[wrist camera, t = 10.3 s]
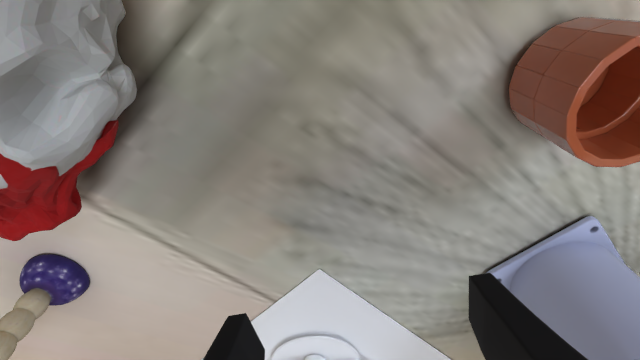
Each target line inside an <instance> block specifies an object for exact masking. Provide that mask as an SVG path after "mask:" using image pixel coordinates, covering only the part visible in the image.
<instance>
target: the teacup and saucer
mask: <svg viewBox="0 0 640 360" xmlns="http://www.w3.org/2000/svg"><path fill="white" fill-rule="evenodd" d="M270 360H361V358H360V355H359V353H358V351H357V350H356V349H355V348H354V347H353V346H352V345H351V344H349V343H348V342H346V341H344V340H342V339H339V338H336V337H332V336H327V335H306V336H300V337H296V338H293V339H290V340H288V341H286V342H284V343H283V344H281V345H280V346H279V347H277V348H276V349H275V351H274V352H273V353H272V355H271V358H270Z"/></svg>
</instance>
